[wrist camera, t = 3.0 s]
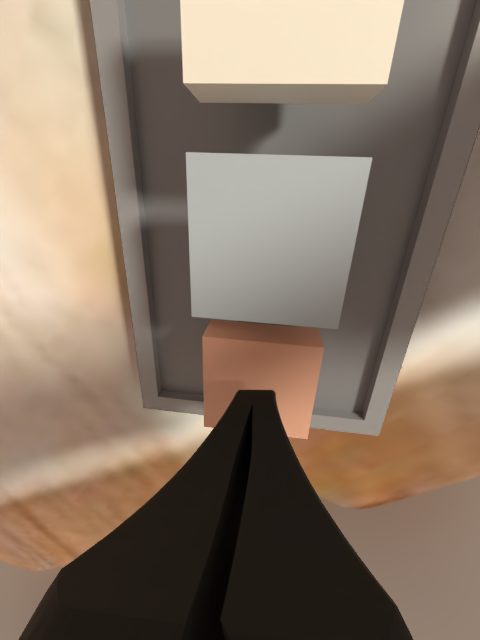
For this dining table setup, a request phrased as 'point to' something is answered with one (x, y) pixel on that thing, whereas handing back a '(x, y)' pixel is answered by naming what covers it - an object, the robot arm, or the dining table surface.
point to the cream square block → (288, 50)
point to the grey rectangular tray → (289, 139)
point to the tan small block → (262, 368)
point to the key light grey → (273, 235)
